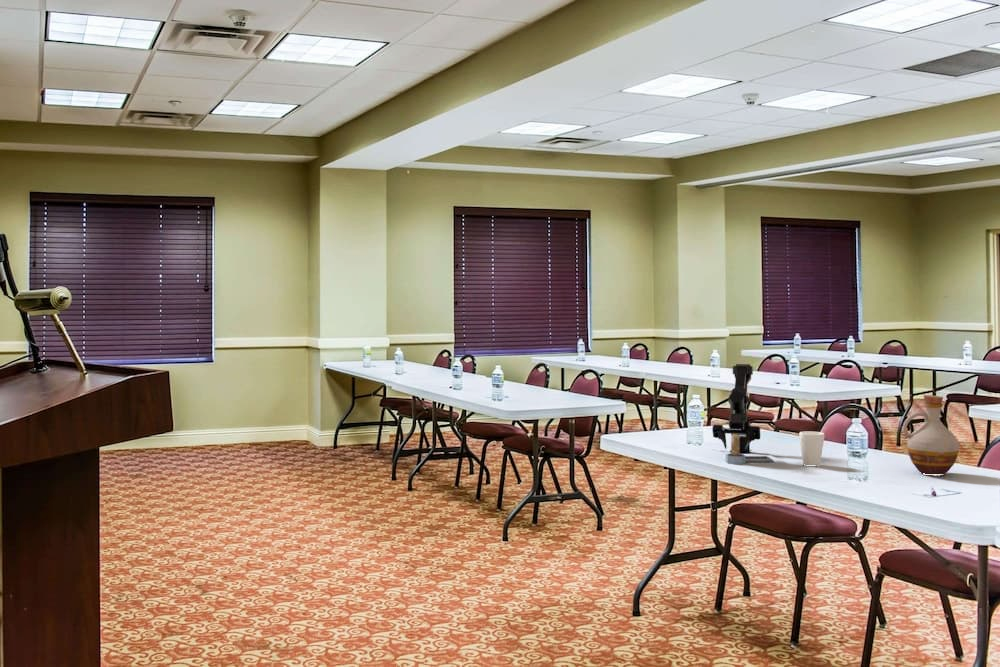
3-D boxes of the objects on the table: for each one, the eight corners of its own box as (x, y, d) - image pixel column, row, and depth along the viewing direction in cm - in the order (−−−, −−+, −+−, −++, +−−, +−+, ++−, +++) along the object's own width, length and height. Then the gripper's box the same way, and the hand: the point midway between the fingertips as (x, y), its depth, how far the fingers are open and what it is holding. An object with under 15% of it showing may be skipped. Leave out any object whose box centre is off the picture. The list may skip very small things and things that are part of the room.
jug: (906, 477, 340) (907, 397, 339) (897, 468, 358) (898, 392, 356) (964, 479, 336) (965, 398, 335) (952, 470, 353) (953, 393, 352)
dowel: (738, 461, 370) (738, 434, 370) (740, 463, 367) (740, 435, 367) (730, 461, 370) (730, 434, 370) (732, 463, 367) (732, 436, 366)
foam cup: (825, 464, 369) (825, 432, 368) (822, 468, 360) (823, 435, 360) (800, 462, 373) (800, 430, 372) (797, 466, 364) (798, 434, 364)
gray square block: (741, 463, 372) (741, 453, 372) (747, 466, 365) (747, 456, 365) (723, 463, 372) (723, 453, 372) (729, 466, 365) (729, 456, 365)
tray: (740, 460, 378) (740, 456, 378) (767, 460, 378) (767, 456, 378) (746, 465, 368) (746, 460, 368) (773, 464, 368) (773, 460, 368)
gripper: (712, 405, 374) (709, 435, 364) (760, 406, 368) (758, 437, 358) (714, 421, 382) (712, 452, 372) (761, 423, 376) (759, 454, 366)
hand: (735, 448), depth 367 cm, fingers open, 7 cm apart
